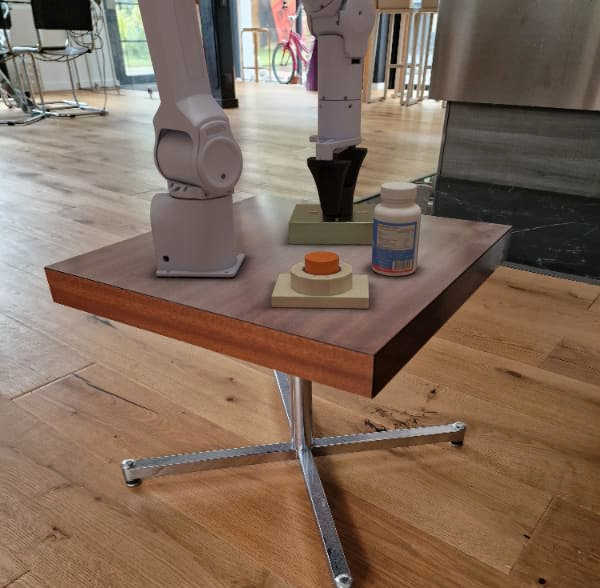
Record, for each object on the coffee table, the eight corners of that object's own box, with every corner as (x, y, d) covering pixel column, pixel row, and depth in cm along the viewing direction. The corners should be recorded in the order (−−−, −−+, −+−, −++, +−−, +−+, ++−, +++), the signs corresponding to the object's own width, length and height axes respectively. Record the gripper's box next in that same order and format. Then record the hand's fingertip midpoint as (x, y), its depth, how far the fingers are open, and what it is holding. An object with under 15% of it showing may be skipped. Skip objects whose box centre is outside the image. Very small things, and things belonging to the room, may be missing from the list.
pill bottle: (382, 260, 72) (387, 178, 67) (422, 266, 69) (431, 182, 64) (363, 272, 68) (367, 186, 63) (405, 280, 65) (413, 191, 60)
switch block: (271, 307, 59) (270, 279, 57) (279, 283, 65) (278, 258, 63) (368, 308, 58) (370, 280, 57) (367, 285, 64) (368, 258, 63)
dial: (348, 216, 79) (349, 187, 77) (318, 214, 80) (318, 185, 78) (356, 209, 82) (357, 181, 80) (327, 207, 84) (327, 179, 82)
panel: (289, 244, 79) (288, 220, 77) (296, 223, 88) (295, 202, 86) (383, 244, 78) (385, 221, 76) (380, 224, 87) (381, 203, 85)
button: (303, 277, 59) (303, 261, 58) (306, 266, 62) (305, 251, 61) (338, 278, 59) (338, 261, 58) (339, 267, 62) (339, 251, 61)
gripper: (326, 95, 81) (325, 195, 88) (292, 103, 69) (294, 217, 76) (374, 95, 79) (370, 197, 86) (348, 103, 67) (345, 220, 74)
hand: (337, 207), depth 81 cm, fingers open, 7 cm apart
